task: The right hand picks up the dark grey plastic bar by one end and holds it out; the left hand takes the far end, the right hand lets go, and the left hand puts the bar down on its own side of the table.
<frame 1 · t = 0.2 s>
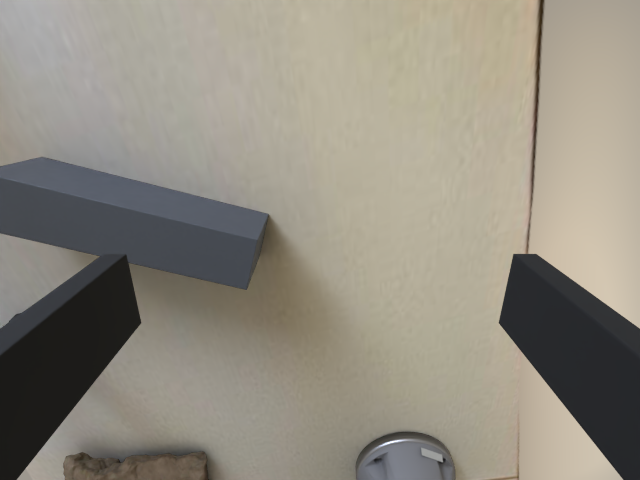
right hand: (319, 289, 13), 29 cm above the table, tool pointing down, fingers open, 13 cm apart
stone: (149, 473, 59), on the table
bar: (156, 209, 42), on the table
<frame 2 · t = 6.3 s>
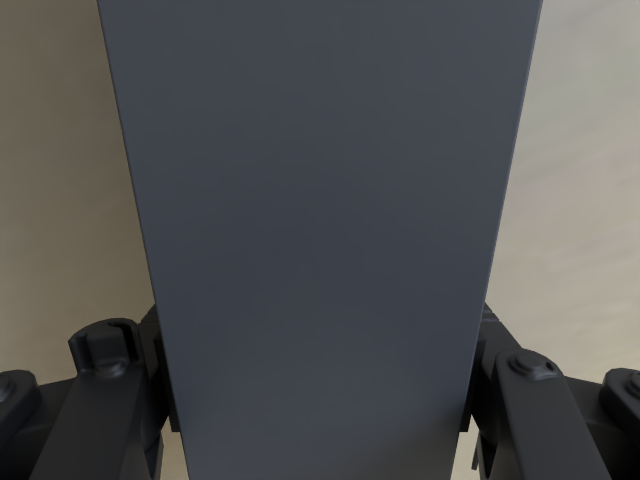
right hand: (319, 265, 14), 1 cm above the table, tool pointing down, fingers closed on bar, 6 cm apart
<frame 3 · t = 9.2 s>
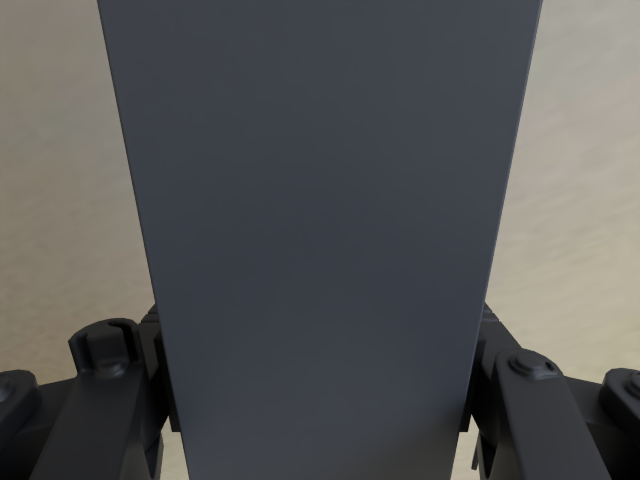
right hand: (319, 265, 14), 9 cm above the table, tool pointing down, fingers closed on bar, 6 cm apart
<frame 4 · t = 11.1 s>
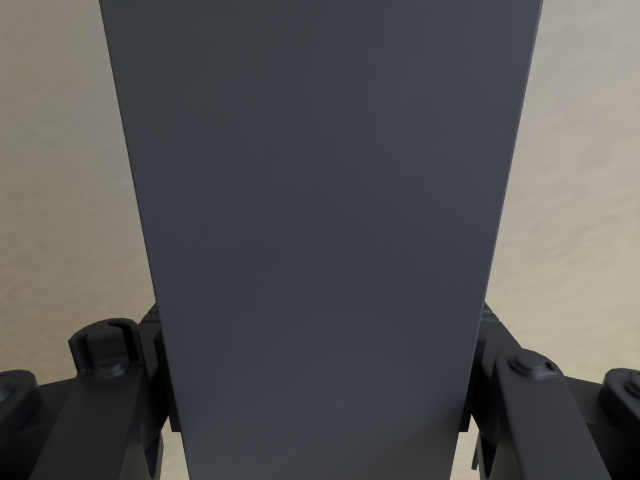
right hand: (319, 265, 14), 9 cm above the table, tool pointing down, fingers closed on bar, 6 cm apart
when the right hand's fingers open (9 cm above the table, at t = 12.0 s): bar stays where it is, held by the left hand.
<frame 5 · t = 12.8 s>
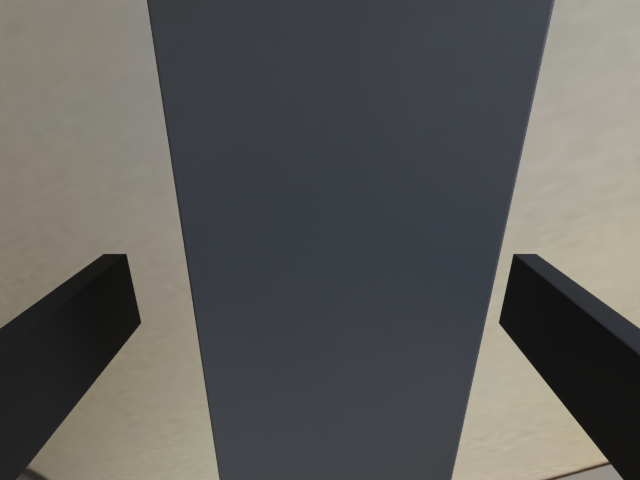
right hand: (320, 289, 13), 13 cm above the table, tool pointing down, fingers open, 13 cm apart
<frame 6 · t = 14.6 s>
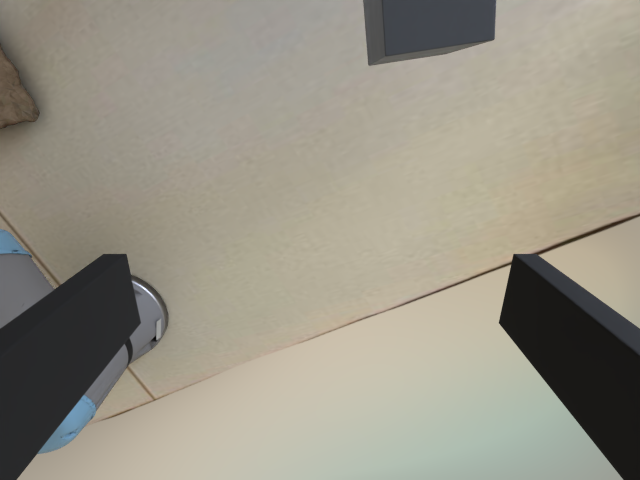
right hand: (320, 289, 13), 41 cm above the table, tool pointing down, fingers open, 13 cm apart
when the left hand's fingers open (4 cm above the table, at t = 18.4 s): bar drops 1 cm, on the table.
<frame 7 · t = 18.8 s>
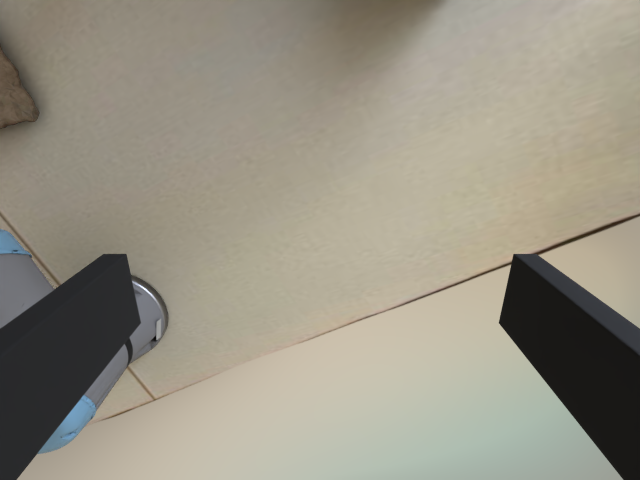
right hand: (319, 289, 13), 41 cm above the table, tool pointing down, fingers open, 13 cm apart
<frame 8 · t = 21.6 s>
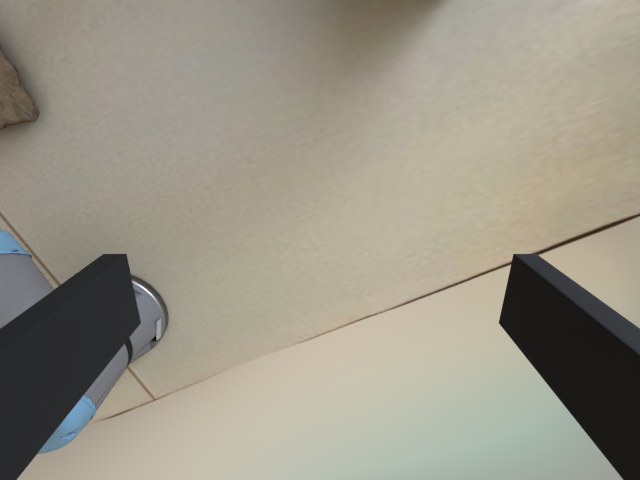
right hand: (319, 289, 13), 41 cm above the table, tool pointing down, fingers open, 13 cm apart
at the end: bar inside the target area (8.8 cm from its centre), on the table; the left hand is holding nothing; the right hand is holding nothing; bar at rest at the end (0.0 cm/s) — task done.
